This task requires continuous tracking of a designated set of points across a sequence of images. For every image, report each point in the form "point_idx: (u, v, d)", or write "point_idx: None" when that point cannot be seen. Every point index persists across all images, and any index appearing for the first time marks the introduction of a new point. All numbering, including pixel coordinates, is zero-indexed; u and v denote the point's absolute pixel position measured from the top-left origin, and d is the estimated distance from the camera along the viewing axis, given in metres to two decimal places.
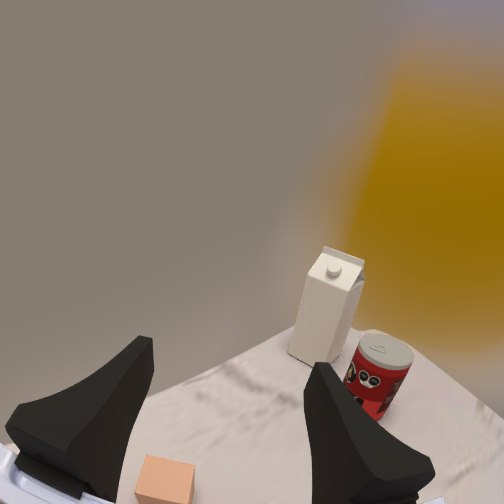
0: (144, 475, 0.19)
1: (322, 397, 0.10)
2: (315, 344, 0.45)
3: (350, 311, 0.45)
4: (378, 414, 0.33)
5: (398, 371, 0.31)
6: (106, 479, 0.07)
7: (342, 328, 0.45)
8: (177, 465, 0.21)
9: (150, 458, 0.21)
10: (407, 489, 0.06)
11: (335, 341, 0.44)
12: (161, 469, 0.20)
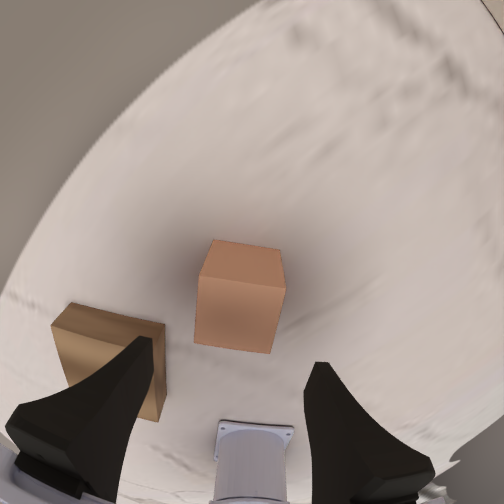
0: (203, 315, 0.16)
1: (321, 397, 0.10)
2: None
3: None
4: None
5: None
6: (106, 479, 0.07)
7: None
8: (256, 291, 0.15)
9: (208, 282, 0.15)
10: (407, 489, 0.06)
11: None
12: (229, 302, 0.16)
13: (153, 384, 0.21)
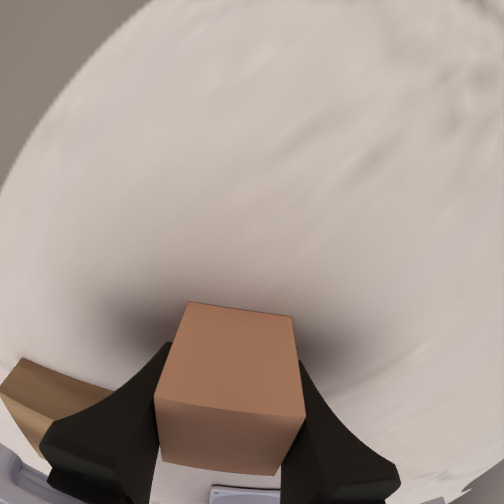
0: (170, 439, 0.09)
1: None
2: None
3: None
4: None
5: None
6: (142, 490, 0.07)
7: None
8: (254, 420, 0.08)
9: (170, 406, 0.08)
10: (370, 497, 0.05)
11: None
12: (209, 430, 0.08)
13: None
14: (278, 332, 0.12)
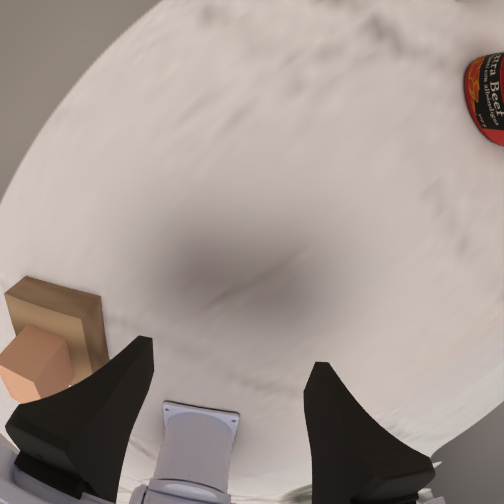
0: (6, 383, 0.16)
1: (322, 397, 0.10)
2: None
3: None
4: None
5: None
6: (106, 479, 0.07)
7: None
8: (21, 378, 0.15)
9: None
10: (407, 489, 0.06)
11: None
12: (13, 380, 0.16)
13: (87, 352, 0.21)
14: (52, 346, 0.19)
